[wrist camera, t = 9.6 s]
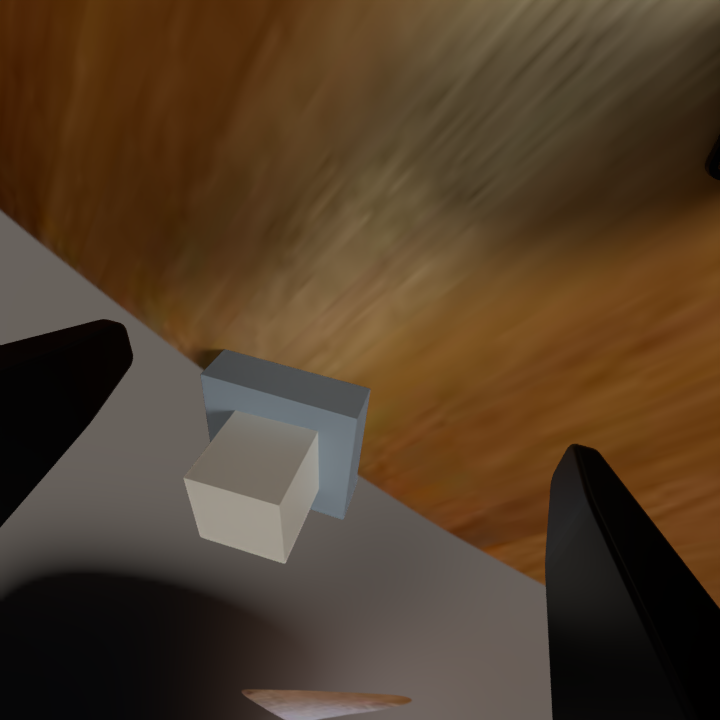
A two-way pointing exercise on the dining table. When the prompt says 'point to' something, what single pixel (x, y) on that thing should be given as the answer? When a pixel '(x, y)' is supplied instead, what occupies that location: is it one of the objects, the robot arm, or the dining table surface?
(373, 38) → the dining table surface
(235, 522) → the cream cube
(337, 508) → the slate block
